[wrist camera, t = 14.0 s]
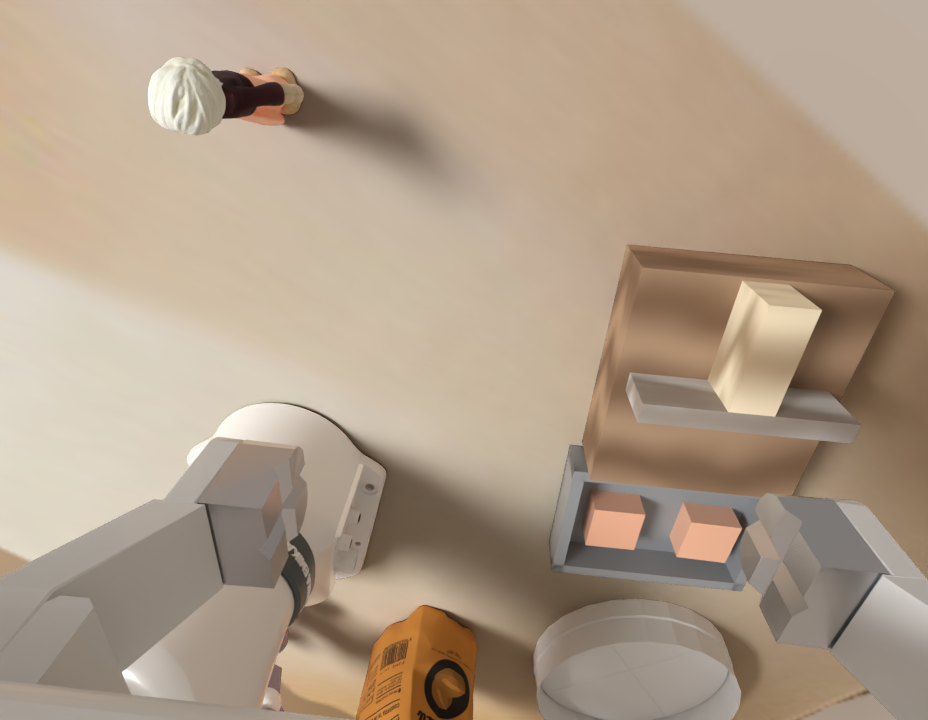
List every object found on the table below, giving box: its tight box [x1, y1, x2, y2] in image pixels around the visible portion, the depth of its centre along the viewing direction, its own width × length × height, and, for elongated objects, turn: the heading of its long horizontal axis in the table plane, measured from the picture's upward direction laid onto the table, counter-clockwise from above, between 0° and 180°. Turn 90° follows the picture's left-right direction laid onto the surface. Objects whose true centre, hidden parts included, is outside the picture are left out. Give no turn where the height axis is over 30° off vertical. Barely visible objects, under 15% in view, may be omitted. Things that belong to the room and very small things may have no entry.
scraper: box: [626, 281, 861, 444], centre depth 34 cm, size 9×14×4 cm, turn 86°
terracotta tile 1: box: [669, 502, 742, 563], centre depth 49 cm, size 4×4×2 cm
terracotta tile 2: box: [582, 490, 645, 550], centre depth 49 cm, size 4×4×2 cm
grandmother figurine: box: [148, 57, 304, 135], centre depth 30 cm, size 8×4×13 cm, turn 99°
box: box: [549, 445, 762, 591], centre depth 49 cm, size 12×18×4 cm
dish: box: [533, 599, 741, 720], centre depth 60 cm, size 22×22×5 cm
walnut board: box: [582, 245, 895, 497], centre depth 40 cm, size 18×16×5 cm
